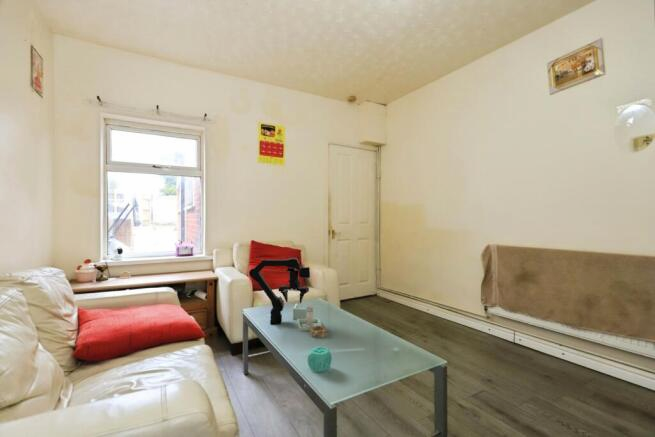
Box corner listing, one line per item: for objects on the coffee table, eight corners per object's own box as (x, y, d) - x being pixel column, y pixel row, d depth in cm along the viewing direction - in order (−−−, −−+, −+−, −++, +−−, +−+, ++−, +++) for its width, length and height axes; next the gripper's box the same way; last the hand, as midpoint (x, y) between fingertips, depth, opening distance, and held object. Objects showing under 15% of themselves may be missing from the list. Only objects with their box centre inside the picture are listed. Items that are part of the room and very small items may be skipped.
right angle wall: (311, 321, 189) (311, 309, 189) (292, 320, 190) (293, 308, 190) (312, 314, 201) (312, 304, 201) (295, 314, 202) (295, 303, 202)
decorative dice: (306, 369, 129) (307, 351, 129) (317, 361, 135) (317, 344, 135) (321, 374, 124) (322, 356, 124) (331, 367, 131) (332, 349, 131)
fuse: (307, 327, 174) (308, 309, 174) (304, 325, 178) (305, 307, 177) (314, 326, 176) (314, 308, 176) (310, 324, 180) (311, 306, 179)
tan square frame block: (311, 339, 160) (312, 331, 160) (309, 332, 169) (309, 326, 168) (326, 338, 162) (326, 331, 162) (323, 332, 170) (323, 325, 170)
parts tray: (299, 332, 169) (299, 327, 169) (297, 323, 182) (297, 319, 182) (322, 331, 172) (322, 326, 172) (318, 322, 185) (318, 318, 185)
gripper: (311, 276, 188) (311, 300, 188) (285, 274, 193) (285, 298, 193) (306, 279, 177) (305, 305, 177) (278, 278, 182) (278, 302, 182)
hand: (293, 302), depth 183 cm, fingers open, 9 cm apart
